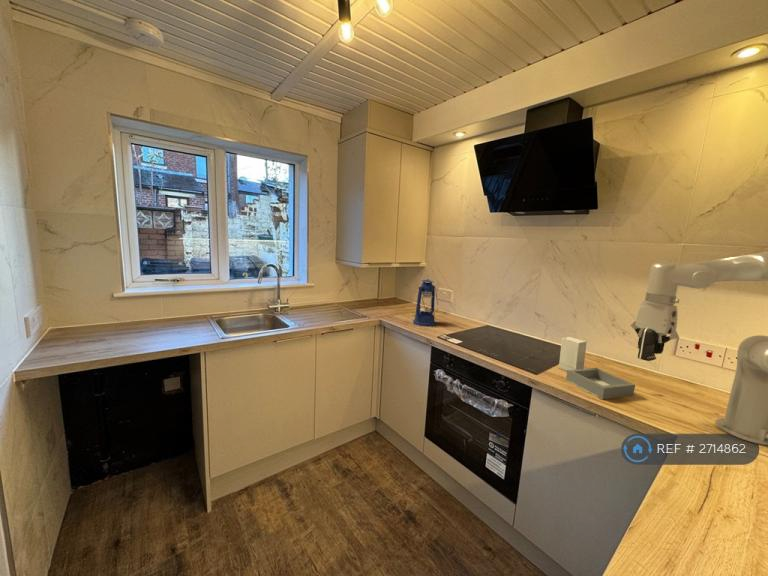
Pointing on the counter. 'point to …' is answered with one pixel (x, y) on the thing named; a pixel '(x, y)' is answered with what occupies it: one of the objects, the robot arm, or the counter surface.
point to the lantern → (426, 314)
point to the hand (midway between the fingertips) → (649, 350)
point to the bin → (600, 383)
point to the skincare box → (572, 354)
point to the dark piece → (647, 345)
